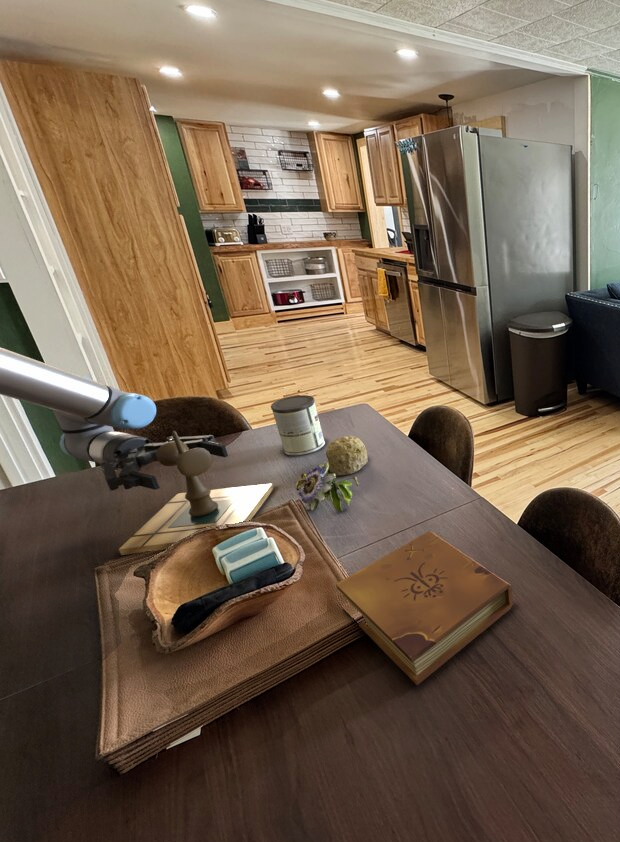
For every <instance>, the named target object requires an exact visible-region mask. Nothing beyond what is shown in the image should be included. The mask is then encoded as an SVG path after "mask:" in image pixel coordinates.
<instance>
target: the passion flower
mask: <svg viewBox="0 0 620 842" xmlns="http://www.w3.org/2000/svg"><path fill="white" fill-rule="evenodd" d="M329 470H330V469H329V463H328V461H325V462H324V463H321V464H317V466H315V467H314V468H311V469H308V471H306V473H305V472H302V473H301V474H300V476H299V477H298V479H297V482H296V483H295V487H296V488H295V490H296V491H297V492H298V495H299V497H300V499H301V502H303V503H304V504H305V505H306V504H307V507H306V509H305V510H306V511H310V510H311V511H312V512H313V511H315V510H316V509H317V508H318V505H319V502H324V501H325V500H326V499H327V500H328V501H329V502H330V503H332V506H333V508H334V510H336V511H338V512H339V511H340V512H343V500H342V498H341V495H340V493H341V494H342V496H343V499H344V501H345V502H346V505H347V506H350V503H351V502H352V498H353V492H352V491H353V490H352V489H351V486H353V484H352V481H349V480H351V479H353V480H354V482H355V484H356V486H357V487H358V486H360V483H359V480H358V478H357V475H354V476H351V477H348V478H346V479H344V480H339V481H338V482H336V480H335V479H336V478H337V477H336V476H337V475H335V474H334V473H331V472H330V473H329V472H328V471H329ZM338 490H339V492H340V493H339V492H338Z"/></svg>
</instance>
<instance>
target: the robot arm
mask: <svg viewBox="0 0 620 842" xmlns="http://www.w3.org/2000/svg"><path fill="white" fill-rule="evenodd" d="M0 395H1V396H4V397H8V398H11V399H15V400H18V401H22V402H26V403H28V404H29V403H30V404H33V405H35V406H39V407H43V408H47V409H49V410H52V413H53V415H54V417H55V418H56V420H57V423H58V424H59V426H60V428H61V431H62V435H61V436H60V439H59V447H60V449H61V450H62V452H63V453H64V454H66V455H67V456H70V457H73V458H74V459H77V460H80V461H84V462H86V461H87V462H91V463H96V464H99V467H100V469H101V471H102V473H103V475H104V480H105V482H106V484H107V486H108V489H109V490H110V491H116V490H118V489H119V488H120V486H123V488H124V490H130V489H132V488H138V487H143V488H147V489H150V490H154V491H157V490H159V489H160V488H161V486H160V485H159V482H158V480H157V477H156V475H152V474H147V473H144V472H141V471H142V469H143V468H144V467H146V466H147V465H150V464H151V463H153V462H159V461H158V459H157V451H158V449H159V448H160V447H161V446H162V445H163V444H165V443H167V442H171V441H174V439H173V435H171V436H167V437H166V440H167V441H165V442H153V441H152V440H150V439H149V438H147V437H144V436H139V435H135V434H131V433H127V432H121V431H116V430H115V429H114V428H119V429H120V430H139V429H142V428H145V427H147V426H149V425H150V424H151V423H152V422H153V421H154V419H155V417H156V415H157V406H156V404H155V402H154V401H153V400H152V399H151V398H150V397H148V396H147V395H144V394H139V393H136V392H127V391H123V390H121V389H118V388H115V387H113V386H109V385H106V384H104V383H101V382H98V381H96V380H93V379H92V378H91V377H89V376H86V375H78V374H76V373H73V372H71V371H68V370H65V369H62V368H59V367H56V366H54V365H51V364H48V363H45V362H42V361H40V360H36V359H35V358H31V357H28V356H26V355H23V354H20V353H18V352H16V351H15V352H14V351H12V350H9V349H6V348H3V347H1V346H0ZM178 437H179V439H180V441H182V442H183V443H185V444H186V445H187V447H188V448H189V450H190V449H194V448H204V449H206V450H207V451H209V453H210V454H211V456H217V457H222V458H227V457H229V454H228V451H227V448H226V445H225V444H221V443H219V442H216V438H215V436H214V435H213V434H209V435H208V434H207V435H206V434H205V435H193V436H192V435H191V436H178ZM119 469H121V470H120V472H119V474H118V475H117V473H118V470H119Z"/></svg>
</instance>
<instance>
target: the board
mask: <svg viewBox="0 0 620 842" xmlns="http://www.w3.org/2000/svg"><path fill="white" fill-rule="evenodd" d="M274 489H275V488H274V485H273V483H266V484H265V483H264V484H257V485H255V484H253V485H246V486H236V487H235V486H234V487H226V488H217V489H210V490H211V492H210V497H211V499H212V500H213V501H215V502H216V503H217V504H218V507H217V509H215V510H214V511H213V512H211V513H209V514H207V515H203V516H197V517H195V516H191V515H190V514H189V509H190V508H191V505H190V502H189V500H187V499H186V498H185V494H186V493H187V492H179V493H176V494H175V496H173V497H172V498H171V499H170V500H169V501H168V502H166V504H165V505H164V506H163V507H161V508H160V510H158V511H157V512H156V513H155V514H154V515H153V516H152V517H150V519H149V520H147V522H146V523H144V525H142V526H141V528H139V529H138V530H137V531H136V532H135V533H134V534H132V535H131V537H130V538H129V539H127V541H126V542H124V543H123V545H122V546H120V547H119V548H118V551H119V553H120V555H121V556H125V555H132V554H133V555H134V554H141V553H142V552H143V553H146V552H145V551H149V550H153V551H152V552H157V551H158V550H159V551H164V550H163V549H166V548H168V547H169V546H171V545H172V544H174V543H176V542H178V541H179V540H181V539H183V538H185V537H187V536H189V535H190V534H192V533H194V532H196V531H198V530H201V529H203V528H206V527H209V526H216V525H225V524H235V523H239V522H243V521H249V520H250V521H252V520H253V518H254V516H255V515H256V514H257V512H258V511H259V510H260V508H261V507H262V506H263V504H264V503H265V501H266V500H267V499H268V498H269V497H270V495H271V493H273V491H274Z"/></svg>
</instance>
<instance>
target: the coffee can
mask: <svg viewBox="0 0 620 842" xmlns="http://www.w3.org/2000/svg"><path fill="white" fill-rule="evenodd" d="M315 400H316V399H315V397H314V396H312V395H307V394H303V395H302V394H300V395H291V396H287V397H284V398H281V399H277V400H276V401H273V403H271V404H270V409H271V411H272V415H273V417H274V420H275V424H276V427H277V431H278V434H279V438H280V441H281V444H282V447H283V452H284V454H286V455H288V456H302V455H308V454H311V453H314V452H316V451H318V450H321V448H323V447H324V446H325V444H326V441H325V438H324V435H323V429H322V426H321V423H320V419H319V414H318V411H317V406H316V403H315V402H316V401H315Z"/></svg>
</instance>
